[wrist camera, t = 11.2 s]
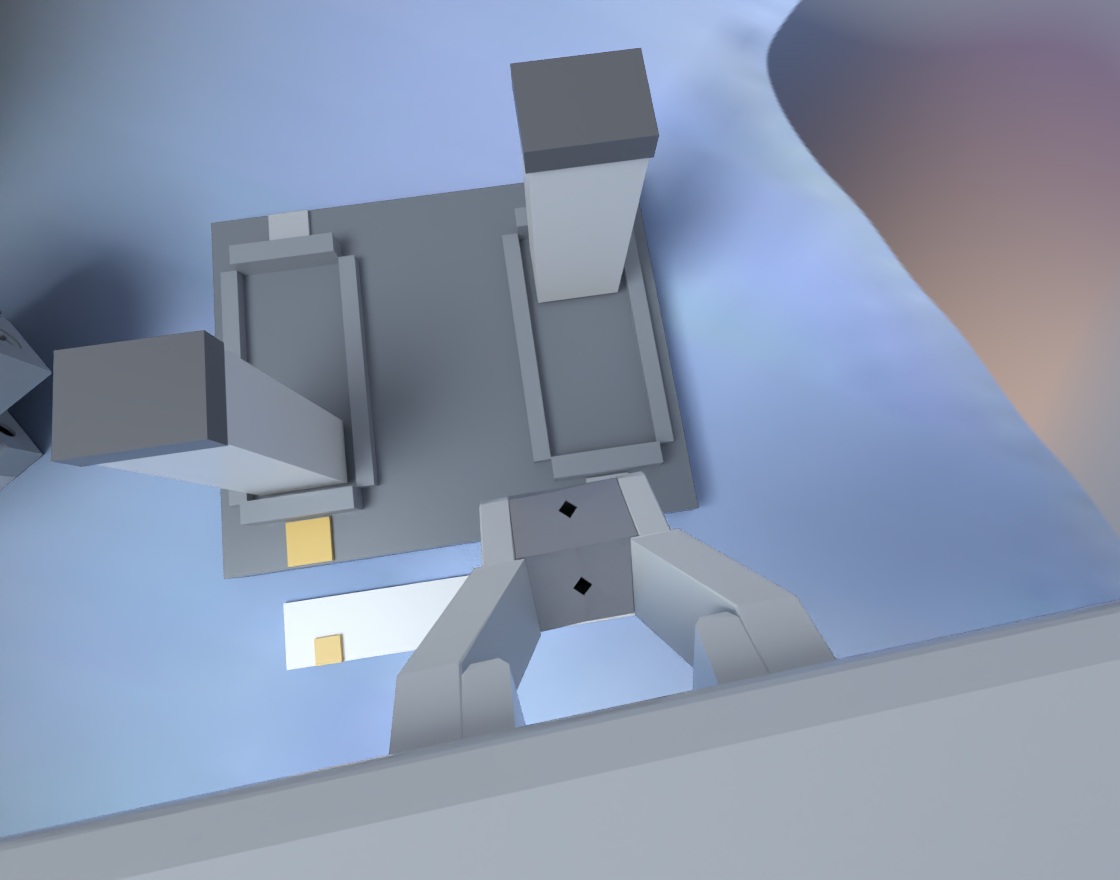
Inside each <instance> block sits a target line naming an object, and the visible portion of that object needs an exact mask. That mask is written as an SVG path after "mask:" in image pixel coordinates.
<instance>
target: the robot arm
mask: <svg viewBox="0 0 1120 880" xmlns="http://www.w3.org/2000/svg"><path fill="white" fill-rule="evenodd" d="M479 512H480V531H481V550H482V567H478V568H474V569H473V571H472V572H471V573H470V575H469V576H468V578H467V579H466V580H465V582H464V583H463V585H462V586H461V587H460V589H459V590H458V592H457V593H456V594H455V596H454V597H453V599H452V600H451V601H450V603H449V604H448V606H447V607H446V608H445V610H444V611H443V613H442V614H441V615H440V617H439V618H438V620H437V621H436V622H435V624H434V625H433V627H432V628H431V629H430V631H429V632H428V634H427V635H426V636H425V638H424V639H423V641H422V642H421V643H420V645H419V646H418V647H417V649H416V650H415V652H414V653H413V654H412V656H411V657H410V659H409V660H408V661H407V663H406V664H405V666H404V667H403V668H402V670H401V671H400V673H399V674H398V675H397V680H396V690H395V700H394V710H393V720H392V730H391V739H390V749H389V755H385V756H380V757H376V758H371V759H366V760H361V761H357V762H352V763H347V764H343V765H338V766H333V767H329V768H324V769H319V770H314V771H310V772H305V773H300V774H296V775H291V776H286V777H281V778H277V779H272V780H267V781H263V782H258V783H253V784H249V785H244V786H239V787H234V788H230V789H225V790H220V791H216V792H211V793H206V794H201V795H197V796H192V797H187V798H183V799H178V800H173V801H169V802H164V803H159V804H154V805H150V806H145V807H140V808H136V809H131V810H126V811H122V812H117V813H112V814H107V815H103V816H98V817H93V818H89V819H84V820H79V821H74V822H70V823H65V824H60V825H56V826H51V827H46V828H42V829H37V830H32V831H27V832H23V833H18V834H13V835H9V836H4V837H0V880H1120V600H1115V601H1110V602H1105V603H1101V604H1096V605H1091V606H1087V607H1082V608H1077V609H1072V610H1068V611H1063V612H1058V613H1054V614H1049V615H1044V616H1039V617H1035V618H1030V619H1025V620H1021V621H1016V622H1011V623H1006V624H1002V625H997V626H992V627H988V628H983V629H978V630H973V631H969V632H964V633H959V634H954V635H950V636H945V637H940V638H936V639H931V640H926V641H921V642H917V643H912V644H907V645H903V646H898V647H893V648H888V649H884V650H879V651H874V652H870V653H865V654H860V655H855V656H851V657H846V658H841V659H836V658H835V656H834V655H833V653H832V652H831V650H830V648H829V647H828V645H827V644H826V642H825V641H824V639H823V637H822V636H821V634H820V633H819V631H818V630H817V628H816V626H815V625H814V623H813V622H812V620H811V619H810V617H809V615H808V614H807V612H806V611H805V609H804V608H803V606H802V604H801V603H800V601H799V600H798V598H797V596H796V595H794V594H792V593H790V592H789V591H787V590H785V589H783V588H782V587H780V586H778V585H776V584H775V583H773V582H771V581H769V580H768V579H766V578H764V577H762V576H761V575H759V574H757V573H756V572H754V571H752V570H750V569H749V568H747V567H745V566H743V565H742V564H740V563H738V562H736V561H735V560H733V559H731V558H729V557H728V556H726V555H724V554H722V553H721V552H719V551H717V550H715V549H714V548H712V547H710V546H708V545H707V544H705V543H703V542H702V541H700V540H698V539H696V538H695V537H693V536H691V535H689V534H688V533H686V532H684V531H682V530H681V529H674V530H671V529H670V527H669V525H668V523H667V520H666V518H665V516H664V514H663V512H662V510H661V508H660V505H659V503H658V501H657V499H656V497H655V495H654V492H653V490H652V488H651V486H650V484H649V482H648V480H647V477H646V475H645V474H644V473H643V472H642V471H639V472H634V473H630V474H625V475H620V476H615V478H609V479H604V480H599V481H593V482H588V483H583V484H578V485H573V486H567V487H561V488H555V489H549V490H543V491H537V492H531V493H525V494H519V495H512V496H509V498H508V497H503V498H497V499H491V500H485V501H481V502H480V506H479ZM631 613H635V616H637V617H638V618H639V619H640V620H641V621H642V622H643V623H644V624H645V625H646V626H648V627H649V628H650V629H651V630H652V631H653V632H654V633H655V634H656V635H658V636H659V637H660V638H661V639H662V640H663V641H664V642H665V643H666V644H668V645H669V646H670V647H671V648H672V649H673V650H674V651H675V652H676V653H677V654H679V655H680V656H681V657H682V658H683V659H684V660H685V661H686V662H687V663H689V664H690V665H691V666H692V667H693V668H694V671H693V690H692V691H687V692H682V693H677V694H673V695H668V696H663V697H658V698H654V699H649V700H644V701H640V702H635V703H630V704H625V705H621V706H616V707H611V708H607V709H602V710H597V711H592V712H588V713H583V714H578V715H573V716H569V717H564V718H559V719H555V720H550V721H545V722H540V723H536V724H531V725H526V724H525V721H524V717H523V713H522V710H521V706H520V702H519V699H518V695H517V689H518V687H519V684H520V682H521V680H522V677H523V675H524V673H525V670H526V668H527V666H528V664H529V661H530V659H531V657H532V654H533V652H534V650H535V647H536V645H537V643H538V641H539V638H540V636H541V633H540V632H543V631H547V630H551V629H556V628H560V627H564V626H568V625H573V624H577V623H581V622H586V621H591V620H597V619H603V618H608V617H614V616H620V615H626V614H631Z"/></svg>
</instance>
